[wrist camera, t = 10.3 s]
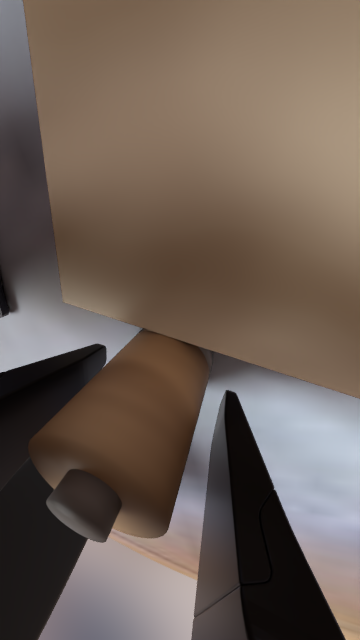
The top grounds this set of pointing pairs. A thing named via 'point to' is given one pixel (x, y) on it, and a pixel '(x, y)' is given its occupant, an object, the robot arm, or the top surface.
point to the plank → (209, 172)
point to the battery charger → (32, 555)
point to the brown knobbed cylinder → (125, 439)
